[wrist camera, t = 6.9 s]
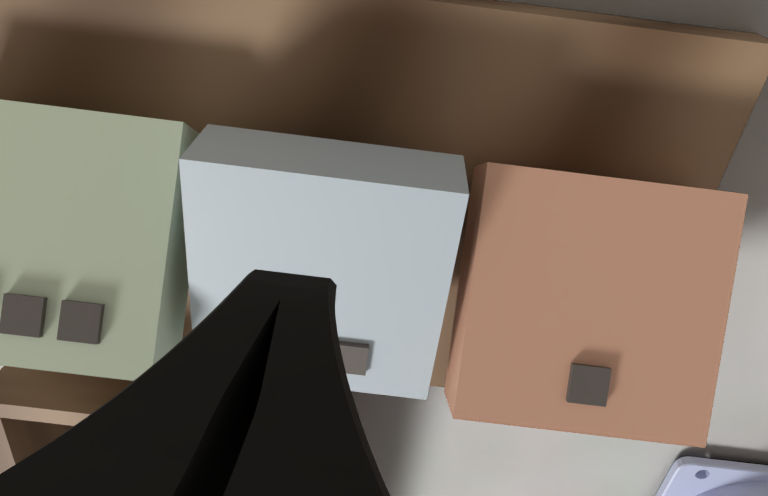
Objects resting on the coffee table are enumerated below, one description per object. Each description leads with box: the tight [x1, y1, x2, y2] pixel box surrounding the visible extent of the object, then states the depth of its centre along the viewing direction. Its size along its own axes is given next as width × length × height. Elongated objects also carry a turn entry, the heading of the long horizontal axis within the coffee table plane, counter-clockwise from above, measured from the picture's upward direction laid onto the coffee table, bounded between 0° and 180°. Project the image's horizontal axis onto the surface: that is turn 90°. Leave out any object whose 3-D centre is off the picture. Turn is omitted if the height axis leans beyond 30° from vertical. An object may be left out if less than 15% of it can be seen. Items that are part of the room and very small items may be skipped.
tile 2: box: [179, 124, 469, 400], centre depth 15 cm, size 6×6×2 cm
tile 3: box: [0, 99, 200, 381], centre depth 15 cm, size 6×6×2 cm
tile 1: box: [444, 162, 748, 448], centre depth 15 cm, size 6×6×2 cm
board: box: [0, 0, 768, 474], centre depth 20 cm, size 20×26×4 cm
